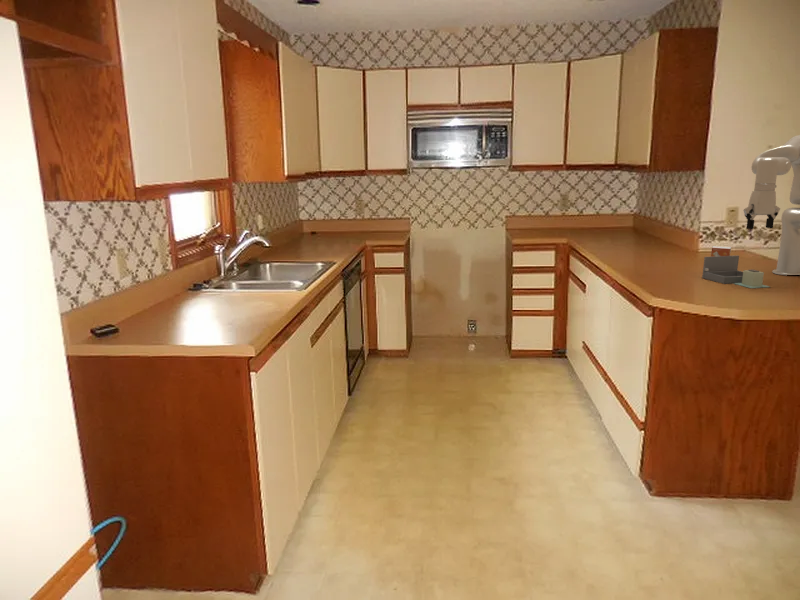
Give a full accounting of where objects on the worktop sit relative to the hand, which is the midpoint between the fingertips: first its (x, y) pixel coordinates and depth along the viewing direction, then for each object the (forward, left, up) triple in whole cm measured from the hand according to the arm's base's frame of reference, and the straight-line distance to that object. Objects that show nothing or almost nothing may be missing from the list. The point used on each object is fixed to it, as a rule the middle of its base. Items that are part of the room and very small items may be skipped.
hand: (759, 228), depth 256 cm
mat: (0, 0, -25) cm, 25 cm away
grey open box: (0, -12, -25) cm, 28 cm away
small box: (-6, -27, -25) cm, 38 cm away
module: (0, 0, -25) cm, 25 cm away
